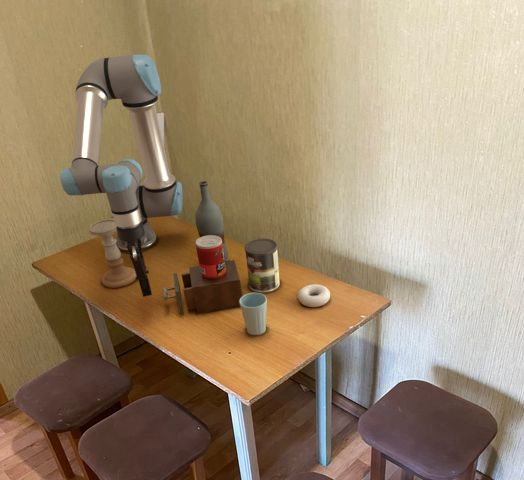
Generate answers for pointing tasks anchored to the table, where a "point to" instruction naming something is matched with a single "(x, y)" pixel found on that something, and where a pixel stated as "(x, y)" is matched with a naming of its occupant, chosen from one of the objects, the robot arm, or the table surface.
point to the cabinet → (216, 289)
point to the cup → (254, 312)
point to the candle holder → (112, 256)
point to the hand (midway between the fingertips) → (147, 294)
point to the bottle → (209, 217)
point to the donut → (314, 301)
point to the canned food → (211, 256)
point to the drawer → (187, 292)
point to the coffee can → (262, 265)
